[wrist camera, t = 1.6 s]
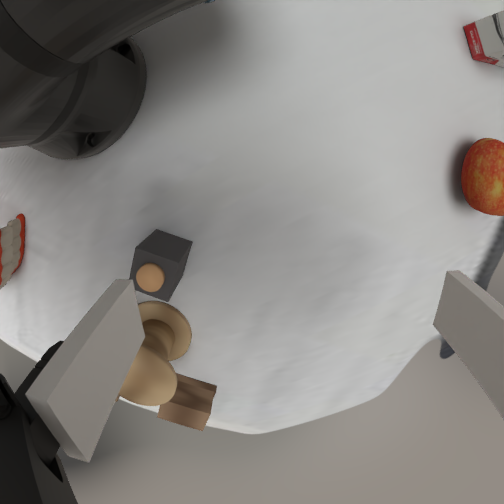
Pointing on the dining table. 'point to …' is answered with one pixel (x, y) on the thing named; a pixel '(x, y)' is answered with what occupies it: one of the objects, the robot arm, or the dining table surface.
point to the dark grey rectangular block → (159, 264)
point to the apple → (484, 176)
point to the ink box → (487, 39)
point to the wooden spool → (157, 355)
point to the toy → (11, 248)
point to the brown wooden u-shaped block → (188, 403)
